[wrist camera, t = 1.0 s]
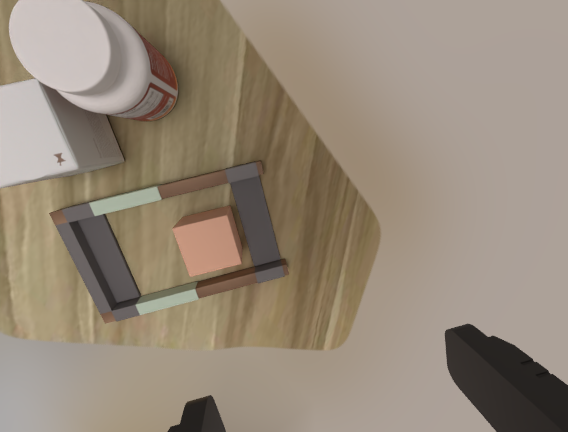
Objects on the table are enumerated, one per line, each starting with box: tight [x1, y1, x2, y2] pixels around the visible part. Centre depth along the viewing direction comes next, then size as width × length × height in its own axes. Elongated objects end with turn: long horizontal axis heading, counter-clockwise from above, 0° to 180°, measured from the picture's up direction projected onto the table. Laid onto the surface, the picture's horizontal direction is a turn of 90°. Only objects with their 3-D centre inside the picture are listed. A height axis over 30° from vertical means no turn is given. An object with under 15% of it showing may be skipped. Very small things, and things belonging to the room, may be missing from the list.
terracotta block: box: [172, 206, 243, 277], centre depth 27 cm, size 5×5×4 cm
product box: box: [0, 78, 124, 188], centre depth 21 cm, size 6×6×7 cm
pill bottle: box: [9, 0, 178, 121], centre depth 19 cm, size 6×6×11 cm
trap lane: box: [49, 161, 289, 323], centre depth 27 cm, size 12×20×2 cm, turn 103°
